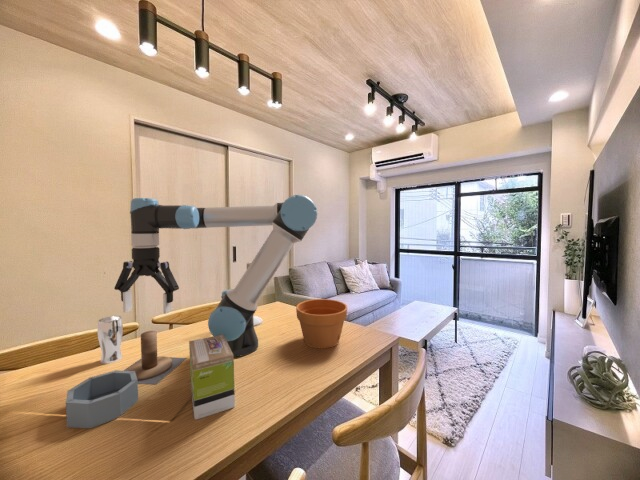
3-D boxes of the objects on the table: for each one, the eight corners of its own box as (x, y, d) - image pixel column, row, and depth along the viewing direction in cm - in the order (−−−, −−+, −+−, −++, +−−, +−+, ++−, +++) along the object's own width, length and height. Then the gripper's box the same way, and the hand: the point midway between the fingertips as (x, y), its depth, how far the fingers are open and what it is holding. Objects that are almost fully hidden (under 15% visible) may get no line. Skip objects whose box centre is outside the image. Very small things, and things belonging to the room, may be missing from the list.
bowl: (149, 392, 76) (148, 371, 76) (106, 429, 62) (105, 404, 62) (103, 389, 77) (102, 369, 77) (51, 426, 63) (49, 401, 63)
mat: (187, 359, 95) (187, 357, 95) (156, 385, 79) (156, 384, 79) (144, 357, 96) (144, 356, 96) (105, 383, 80) (105, 382, 80)
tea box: (189, 388, 78) (188, 339, 77) (225, 379, 83) (224, 332, 82) (193, 422, 65) (192, 362, 64) (235, 408, 70) (235, 353, 69)
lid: (180, 359, 94) (179, 326, 93) (154, 381, 81) (153, 342, 80) (145, 358, 94) (144, 325, 94) (114, 379, 82) (113, 341, 81)
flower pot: (332, 358, 96) (332, 317, 95) (285, 345, 106) (285, 308, 106) (354, 337, 114) (355, 303, 114) (313, 327, 125) (313, 296, 124)
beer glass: (110, 366, 90) (108, 323, 89) (93, 364, 91) (91, 321, 90) (128, 356, 97) (127, 316, 96) (112, 354, 98) (111, 314, 97)
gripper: (189, 246, 88) (190, 309, 89) (119, 245, 90) (120, 307, 91) (175, 248, 81) (177, 316, 82) (99, 247, 83) (101, 314, 84)
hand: (147, 311), depth 86 cm, fingers open, 13 cm apart
